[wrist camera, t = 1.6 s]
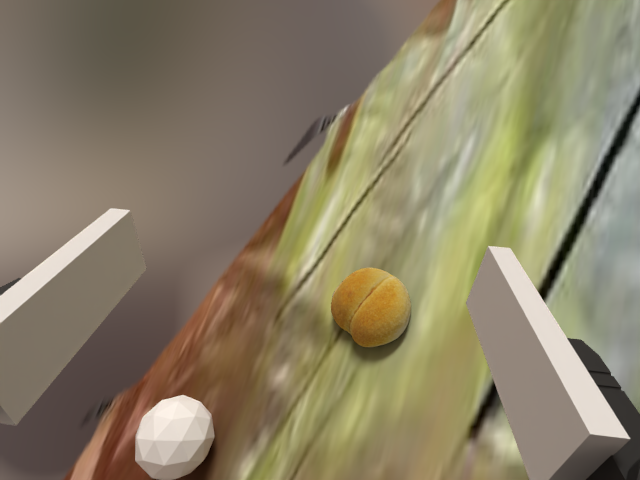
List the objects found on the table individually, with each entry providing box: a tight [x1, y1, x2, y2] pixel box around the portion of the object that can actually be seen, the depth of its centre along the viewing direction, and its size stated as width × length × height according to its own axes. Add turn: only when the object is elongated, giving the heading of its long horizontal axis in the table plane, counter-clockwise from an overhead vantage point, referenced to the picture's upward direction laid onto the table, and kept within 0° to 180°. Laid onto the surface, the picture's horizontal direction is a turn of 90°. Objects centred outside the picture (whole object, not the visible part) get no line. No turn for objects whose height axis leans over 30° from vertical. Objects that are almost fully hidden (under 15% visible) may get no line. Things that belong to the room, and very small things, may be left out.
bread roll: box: [331, 268, 411, 347], centre depth 38 cm, size 8×9×4 cm
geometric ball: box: [135, 395, 215, 480], centre depth 37 cm, size 8×8×8 cm
